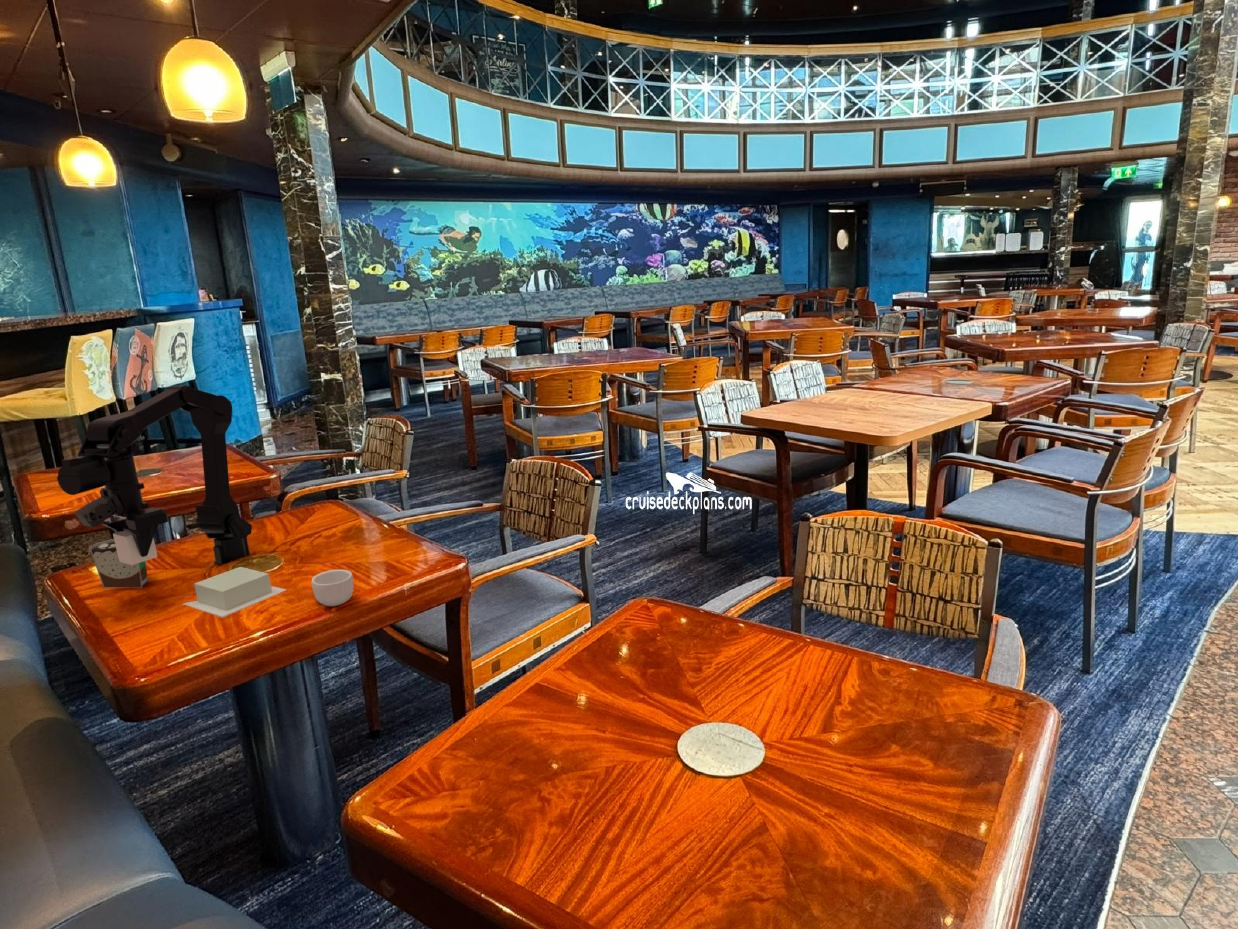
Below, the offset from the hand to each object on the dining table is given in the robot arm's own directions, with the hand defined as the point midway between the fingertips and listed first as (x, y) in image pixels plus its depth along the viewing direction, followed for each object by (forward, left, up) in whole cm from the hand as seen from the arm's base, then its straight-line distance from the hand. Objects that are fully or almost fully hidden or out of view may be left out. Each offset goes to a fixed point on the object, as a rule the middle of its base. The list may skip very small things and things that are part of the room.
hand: (137, 554), depth 151 cm
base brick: (-9, +17, -10) cm, 21 cm away
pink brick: (0, 0, -1) cm, 1 cm away
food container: (-5, -16, -11) cm, 20 cm away
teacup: (-18, +36, -11) cm, 42 cm away
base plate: (-9, +17, -11) cm, 22 cm away
